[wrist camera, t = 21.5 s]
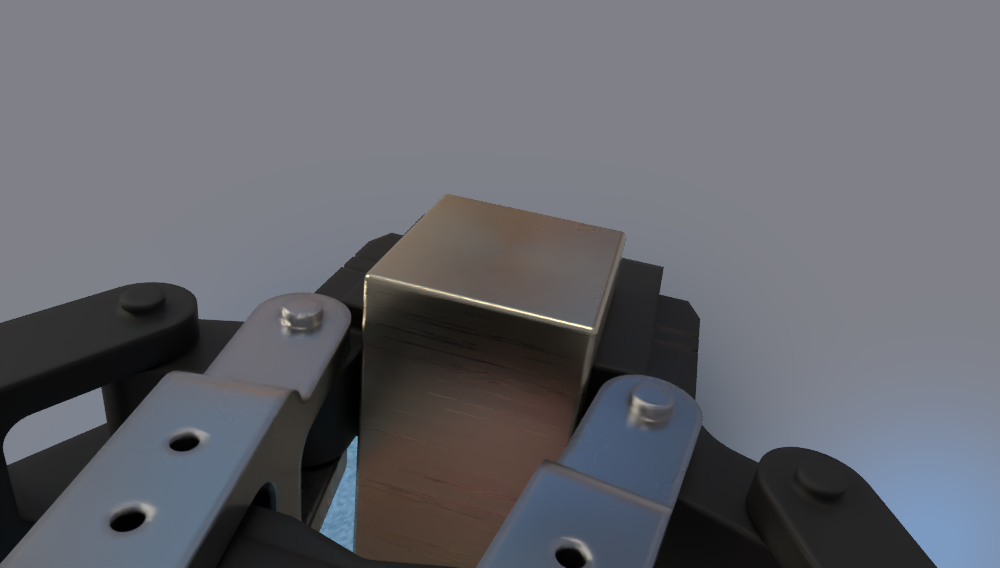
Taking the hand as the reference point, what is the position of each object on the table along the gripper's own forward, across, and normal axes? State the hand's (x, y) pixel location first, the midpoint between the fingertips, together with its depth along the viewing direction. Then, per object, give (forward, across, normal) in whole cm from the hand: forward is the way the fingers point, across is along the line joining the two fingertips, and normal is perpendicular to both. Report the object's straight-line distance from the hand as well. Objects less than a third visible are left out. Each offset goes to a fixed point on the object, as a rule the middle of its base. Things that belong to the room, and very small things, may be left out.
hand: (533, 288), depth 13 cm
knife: (-3, 0, +12) cm, 12 cm away
